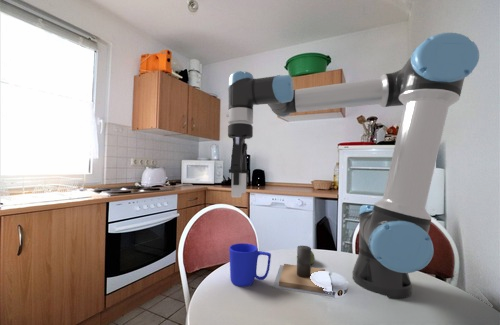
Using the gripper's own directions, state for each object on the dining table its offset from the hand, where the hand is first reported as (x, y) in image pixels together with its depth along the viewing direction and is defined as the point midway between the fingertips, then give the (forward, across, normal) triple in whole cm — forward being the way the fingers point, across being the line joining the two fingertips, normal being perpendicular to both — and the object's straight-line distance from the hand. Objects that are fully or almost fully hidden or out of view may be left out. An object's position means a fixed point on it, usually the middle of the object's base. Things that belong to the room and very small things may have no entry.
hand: (239, 195), depth 68 cm
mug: (+25, +2, +3) cm, 25 cm away
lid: (+25, -3, +19) cm, 32 cm away
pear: (+26, -18, +22) cm, 38 cm away
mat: (+25, -3, +19) cm, 32 cm away
